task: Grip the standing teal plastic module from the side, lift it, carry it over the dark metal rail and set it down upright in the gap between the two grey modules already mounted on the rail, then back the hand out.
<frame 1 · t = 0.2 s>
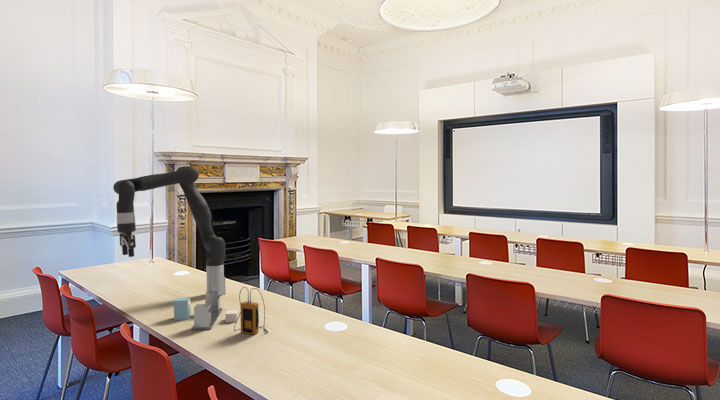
hand: (128, 255, 188), 29 cm above the table, tool pointing down, fingers open, 8 cm apart
multimeter: (254, 330, 171), on the table
rail: (208, 319, 184), on the table
module: (182, 318, 185), on the table
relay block: (232, 320, 183), on the table
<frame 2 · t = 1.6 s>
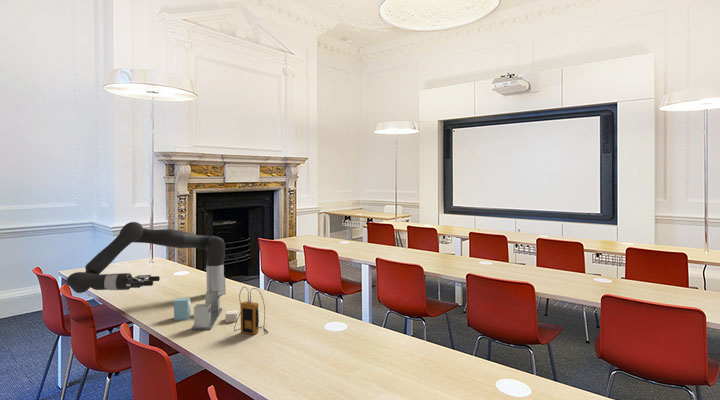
hand: (156, 280, 183), 18 cm above the table, tool horizontal, fingers open, 8 cm apart
nothing on the table moved.
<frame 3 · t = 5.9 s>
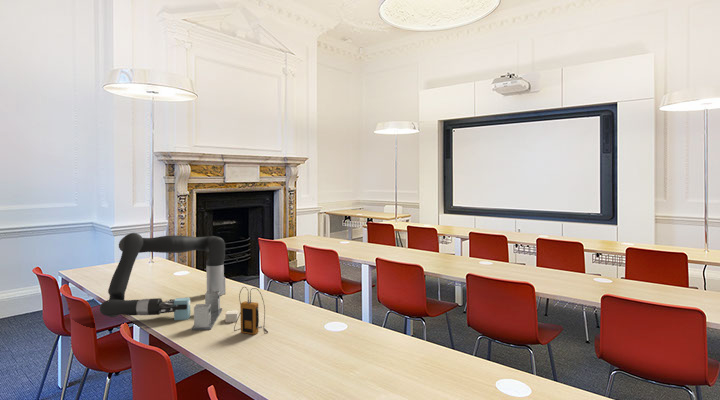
hand: (188, 305, 186), 6 cm above the table, tool horizontal, fingers closed on module, 4 cm apart
module: (182, 318, 185), on the table, touching gripper
everything else where it was.
when the fingers open (8 cm above the table, at t = 10.6 s): module drops 1 cm, resting on rail.
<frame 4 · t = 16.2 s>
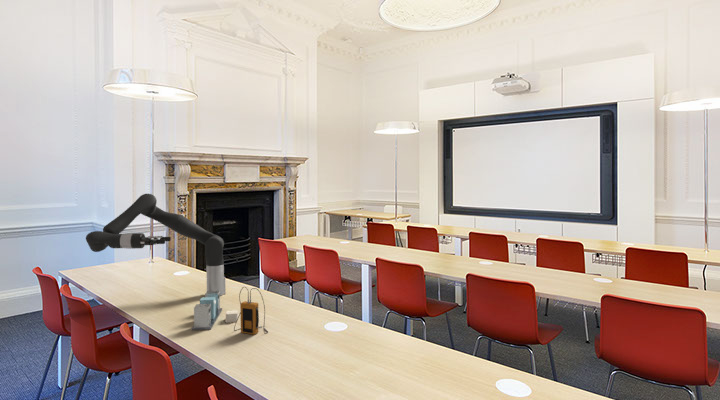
hand: (167, 240, 196), 35 cm above the table, tool horizontal, fingers open, 8 cm apart
module: (207, 317, 183), point 1 cm above the table, touching rail
everything else where it was.
at the end: module inside the target area on the rail (0.1 cm from its centre), point 1.0 cm above the rail's base; module tilted 0°; the gripper is holding nothing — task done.
